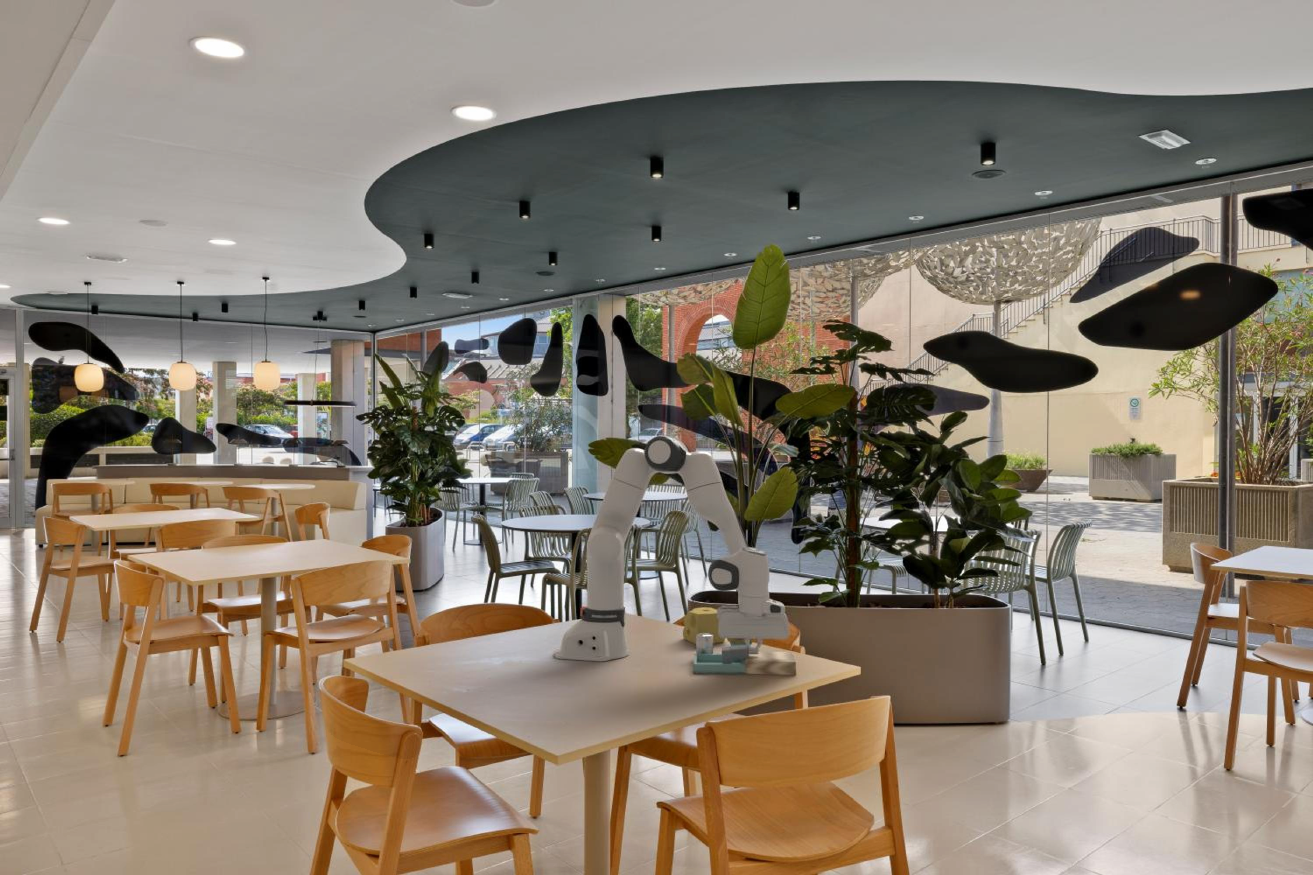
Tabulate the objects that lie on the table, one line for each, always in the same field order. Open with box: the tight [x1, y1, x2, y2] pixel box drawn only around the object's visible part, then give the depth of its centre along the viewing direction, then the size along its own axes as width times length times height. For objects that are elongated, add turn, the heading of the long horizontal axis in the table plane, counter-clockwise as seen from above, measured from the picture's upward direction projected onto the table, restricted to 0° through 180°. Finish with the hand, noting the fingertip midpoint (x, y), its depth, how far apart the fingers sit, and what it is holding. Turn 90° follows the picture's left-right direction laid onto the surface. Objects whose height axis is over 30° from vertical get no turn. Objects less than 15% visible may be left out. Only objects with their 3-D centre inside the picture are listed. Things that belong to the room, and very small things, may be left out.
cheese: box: [682, 606, 726, 645], centre depth 293 cm, size 10×11×10 cm
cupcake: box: [726, 638, 755, 649], centre depth 278 cm, size 9×8×12 cm
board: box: [744, 651, 797, 676], centre depth 257 cm, size 14×12×4 cm
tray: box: [693, 653, 746, 675], centre depth 258 cm, size 14×12×2 cm
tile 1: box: [721, 645, 731, 664], centre depth 258 cm, size 5×5×2 cm
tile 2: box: [730, 645, 749, 659], centre depth 258 cm, size 5×5×2 cm
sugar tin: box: [695, 633, 714, 654], centre depth 269 cm, size 5×5×7 cm
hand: (753, 653), depth 258 cm, fingers closed
